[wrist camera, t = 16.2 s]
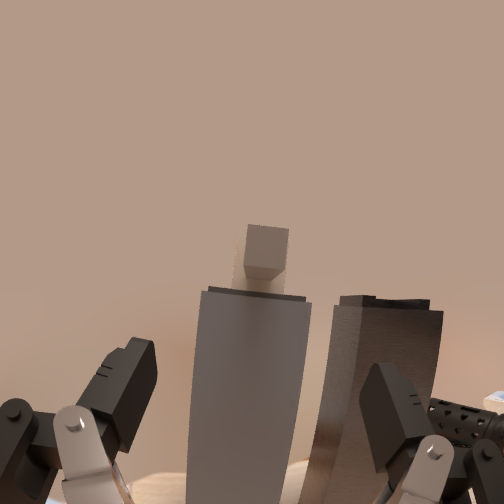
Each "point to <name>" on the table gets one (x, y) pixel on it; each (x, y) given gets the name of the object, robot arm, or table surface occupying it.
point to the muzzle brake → (465, 423)
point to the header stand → (351, 382)
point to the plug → (261, 260)
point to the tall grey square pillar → (244, 395)
